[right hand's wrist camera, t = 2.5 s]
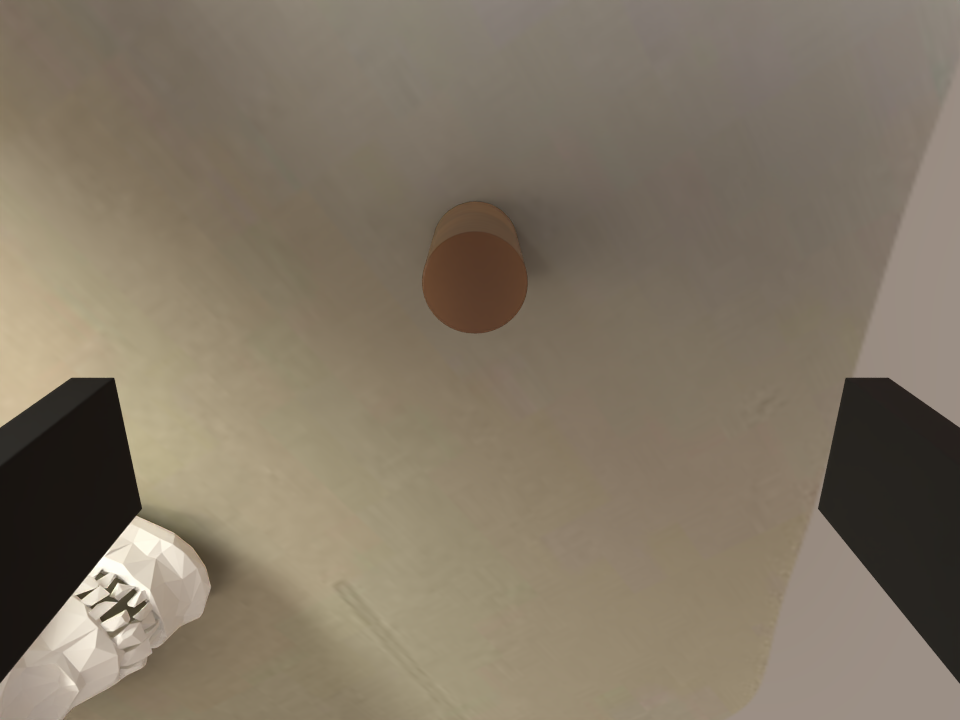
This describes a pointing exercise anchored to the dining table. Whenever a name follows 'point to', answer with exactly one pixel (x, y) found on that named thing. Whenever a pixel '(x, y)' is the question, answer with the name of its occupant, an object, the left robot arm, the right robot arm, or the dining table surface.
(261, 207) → the dining table surface
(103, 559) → the skull
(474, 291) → the brown wooden cylinder
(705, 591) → the dining table surface
